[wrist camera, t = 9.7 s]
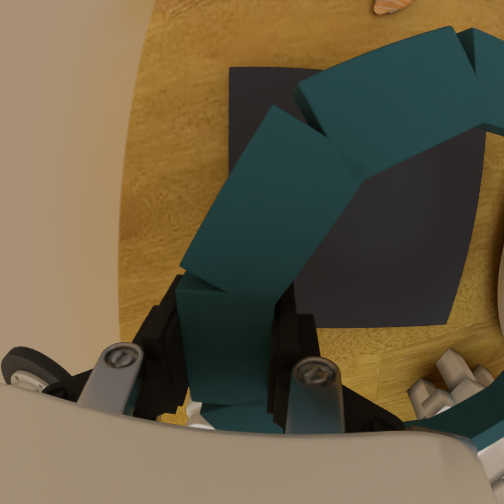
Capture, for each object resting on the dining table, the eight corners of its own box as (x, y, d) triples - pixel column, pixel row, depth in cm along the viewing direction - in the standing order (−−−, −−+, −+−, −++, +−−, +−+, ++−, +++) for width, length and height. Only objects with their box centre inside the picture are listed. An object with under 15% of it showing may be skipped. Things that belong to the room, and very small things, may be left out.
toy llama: (437, 341, 29) (512, 492, 11) (501, 377, 32) (557, 480, 13) (393, 386, 32) (438, 537, 14) (466, 411, 34) (509, 516, 16)
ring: (216, 449, 16) (209, 487, 14) (193, 22, 8) (167, -7, 6) (503, 420, 15) (516, 446, 13) (603, 127, 7) (637, 137, 4)
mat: (232, 321, 30) (231, 325, 29) (230, 68, 21) (229, 67, 21) (443, 321, 28) (446, 324, 28) (483, 103, 20) (487, 103, 19)
